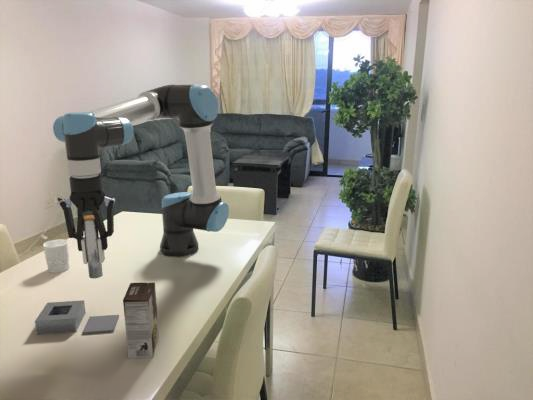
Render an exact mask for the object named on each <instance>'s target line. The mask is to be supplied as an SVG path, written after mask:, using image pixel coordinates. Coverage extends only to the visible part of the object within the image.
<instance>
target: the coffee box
mask: <svg viewBox="0 0 533 400" xmlns="http://www.w3.org/2000/svg"><path fill="white" fill-rule="evenodd" d="M122 305H123V313H124V315H123V316H124V325H125V335H126V347H127V357H128V359H145V358H146V359H149V358H151V359H152V358H154V357H155V353H156V349H157V346H158V342H159V338H160V331H159V320H158V306H157V292H156V282H141V281H140V282H130V283H129V286H128V287H127V290H126V292H125V295H124V297H123V299H122Z"/></svg>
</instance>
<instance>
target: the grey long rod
mask: <svg viewBox="0 0 533 400" xmlns="http://www.w3.org/2000/svg"><path fill="white" fill-rule="evenodd" d="M83 226H84V237H85V244H86V253H87V269H88V277H89V278H90V279H99V278H101V277H103V276H104V275H103V274H104V273H103V263H100V259H99V249H98V238H99V237H100V235H99V231H98V228H97V224H96V221H95V218H94V215H93V214H91V215H87V214H86V215H85V216H84V217H83Z"/></svg>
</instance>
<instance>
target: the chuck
mask: <svg viewBox="0 0 533 400" xmlns="http://www.w3.org/2000/svg"><path fill="white" fill-rule="evenodd" d="M85 315H86V305H85V300H84V299H83V300H68V301H67V300H66V301H53V302H52V301H51V302H47V303H46V304H45V306H44V307H43V308H42V310H41V311H40V313H39V314H38V316H37V317H36V318H35V321H34V323H35V324H34V325H35V330H36V331H35V332H36V335H46V334H48V335H49V334H63V333H77V332H78V329H79V327H80V325H81V323H82V320H83V319H84V317H85Z"/></svg>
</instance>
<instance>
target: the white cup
mask: <svg viewBox="0 0 533 400" xmlns="http://www.w3.org/2000/svg"><path fill="white" fill-rule="evenodd" d="M42 247H43V251H44V257H45V261H46V265H47V270H48V272H49V273H52V274H53V273H54V274H58V273H63V272H66V271H68V270H69V268H70V262H69V261H70V254H69V242H68V240H67V239H63V238H62V239H61V238H60V239H52V240H47V241H45V242H43V246H42Z"/></svg>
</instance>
